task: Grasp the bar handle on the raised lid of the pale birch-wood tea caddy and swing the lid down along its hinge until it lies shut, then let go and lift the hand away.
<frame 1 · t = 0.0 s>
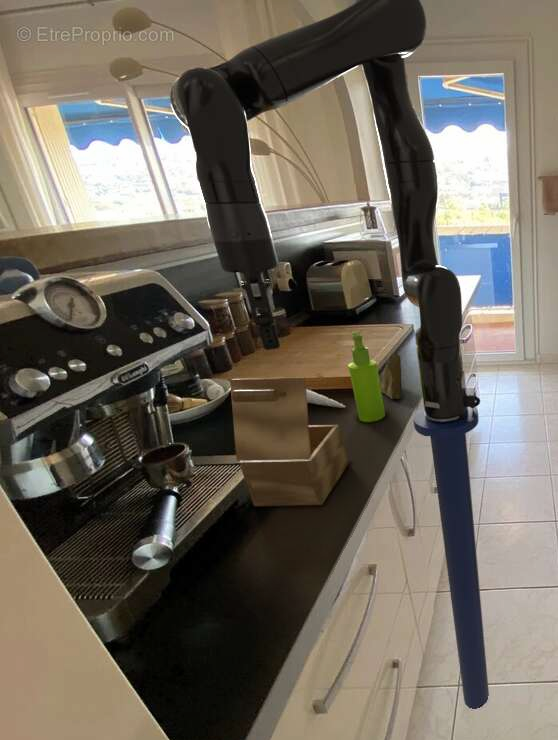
hand: (271, 341, 73), 26 cm above the counter, tool pointing down, fingers open, 8 cm apart
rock: (391, 393, 117), on the counter
soap dispenser: (372, 416, 105), on the counter
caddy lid: (263, 421, 69), point 16 cm above the counter, hinge at 70.0°
unicorn horn: (308, 401, 113), on the counter
caddy: (304, 483, 81), on the counter
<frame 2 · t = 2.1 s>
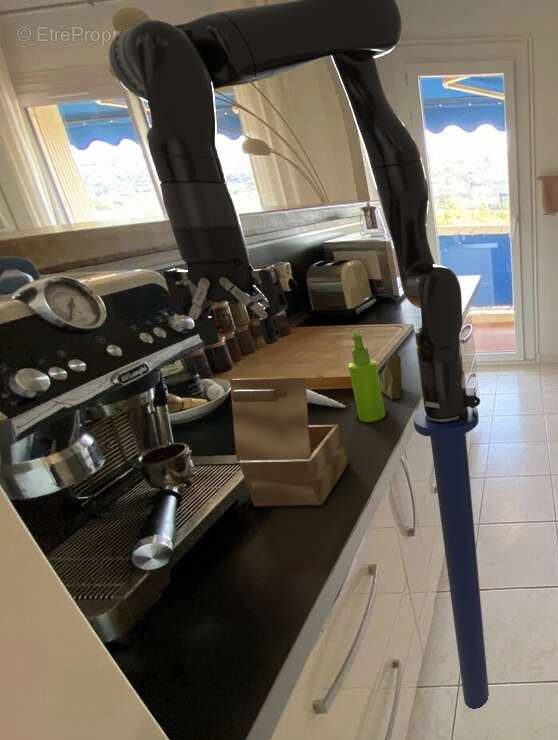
hand: (242, 343, 64), 28 cm above the counter, tool pointing down, fingers open, 8 cm apart
nothing on the counter moved.
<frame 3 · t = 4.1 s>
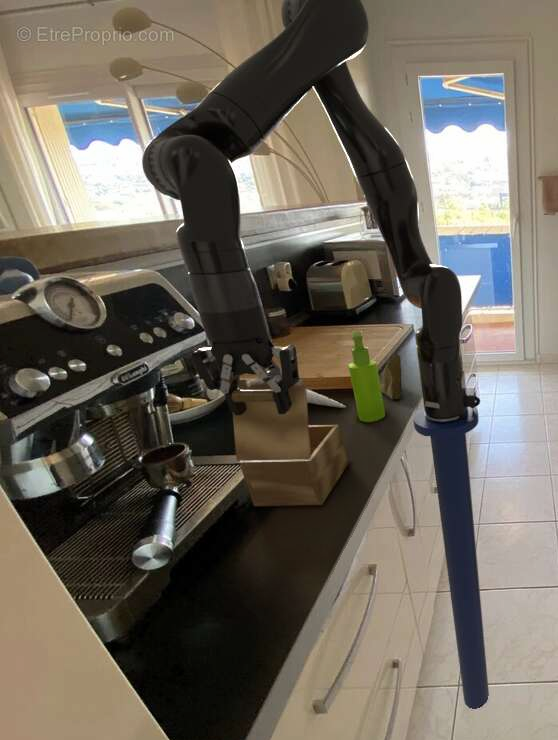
hand: (262, 412, 68), 17 cm above the counter, tool pointing down, fingers closed on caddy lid, 6 cm apart
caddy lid: (263, 421, 69), point 16 cm above the counter, hinge at 70.0°, touching gripper
everything else where it was.
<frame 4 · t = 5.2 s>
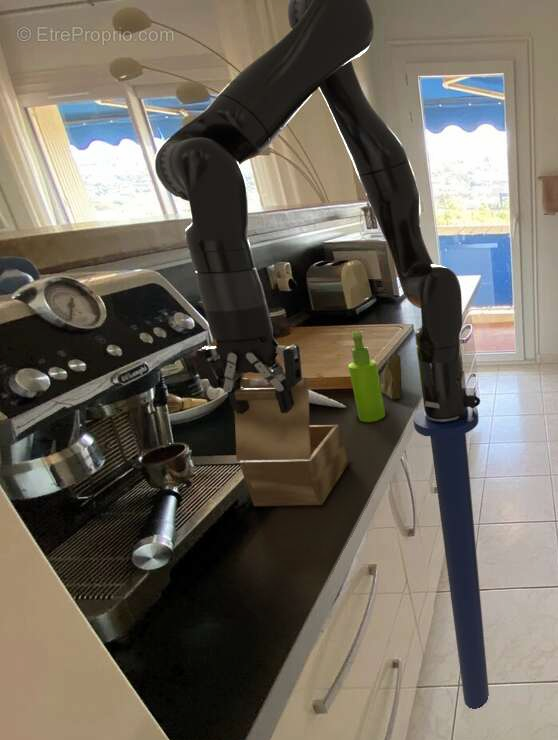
hand: (265, 411, 69), 17 cm above the counter, tool pointing down, fingers closed on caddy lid, 6 cm apart
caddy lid: (265, 419, 69), point 16 cm above the counter, hinge at 66.3°, touching gripper
everything else where it was.
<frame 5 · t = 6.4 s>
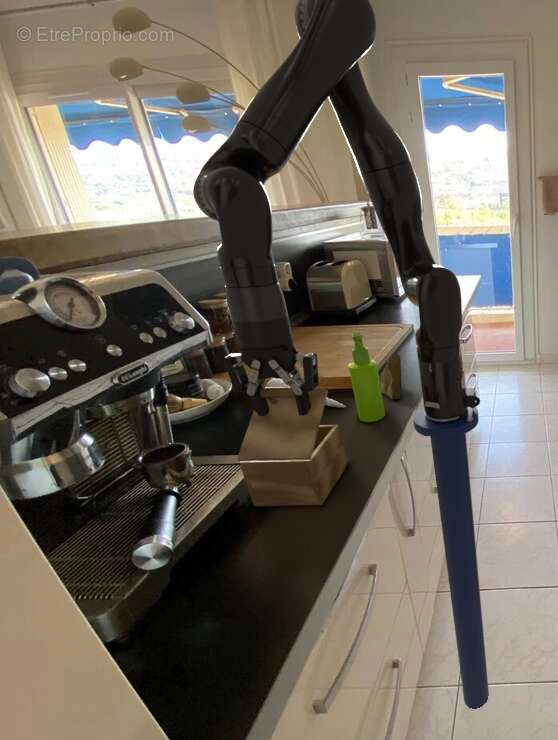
hand: (284, 413, 75), 14 cm above the counter, tool pointing down, fingers closed on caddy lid, 6 cm apart
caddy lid: (278, 417, 73), point 14 cm above the counter, hinge at 33.4°, touching gripper
everything else where it was.
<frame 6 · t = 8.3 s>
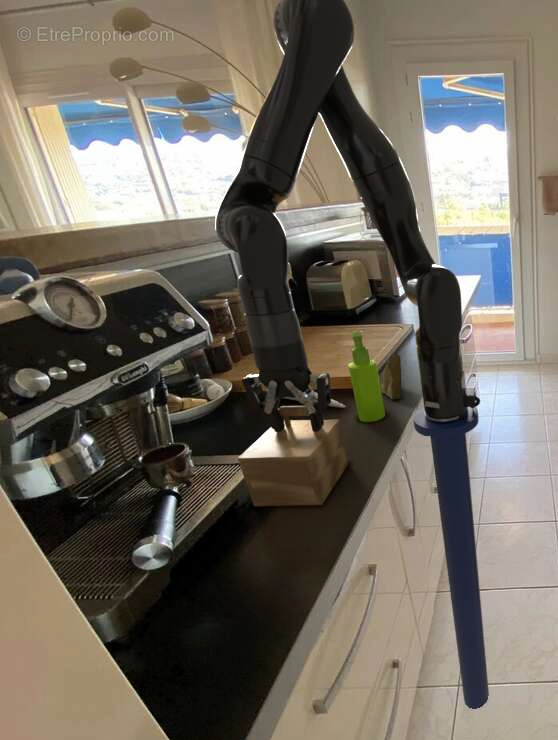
hand: (298, 429, 79), 10 cm above the counter, tool pointing down, fingers closed on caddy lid, 6 cm apart
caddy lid: (290, 429, 76), point 11 cm above the counter, hinge at -0.2°, touching caddy, gripper
everything else where it was.
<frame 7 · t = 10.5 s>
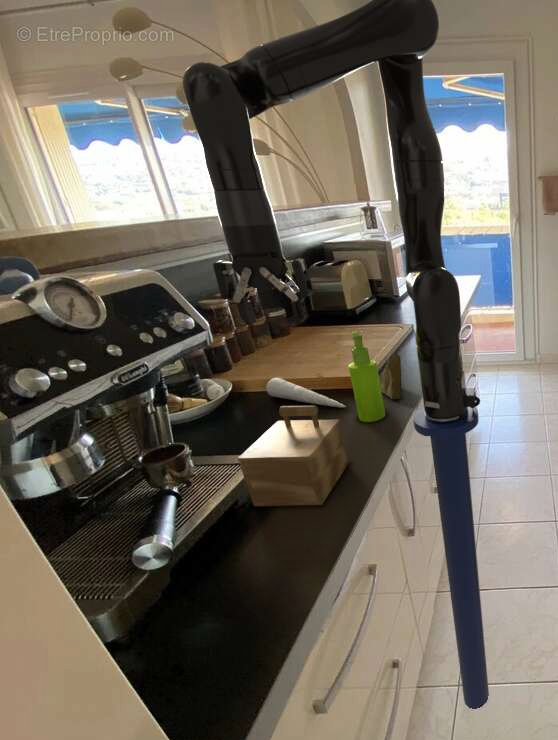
hand: (276, 322, 77), 27 cm above the counter, tool pointing down, fingers open, 8 cm apart
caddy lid: (290, 429, 76), point 11 cm above the counter, hinge at -0.2°, touching caddy
everything else where it was.
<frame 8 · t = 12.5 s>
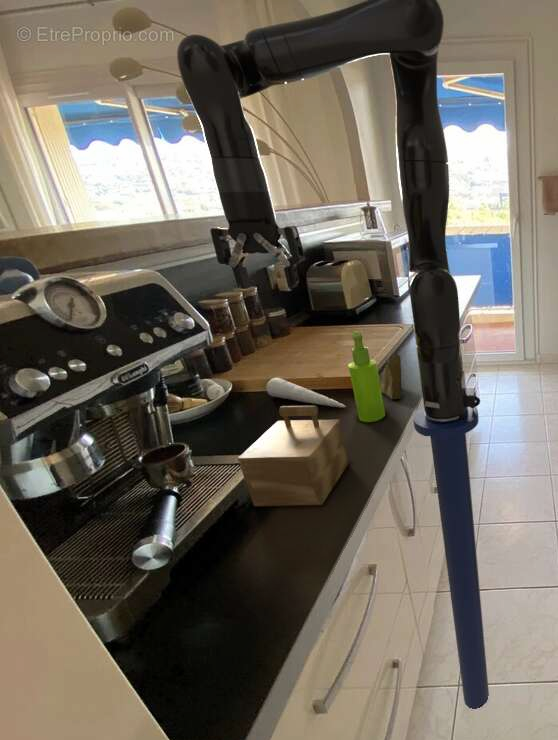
hand: (269, 287, 81), 32 cm above the counter, tool pointing down, fingers open, 8 cm apart
nothing on the counter moved.
at the end: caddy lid at +0° (first picture: +70°); the gripper is holding nothing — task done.
